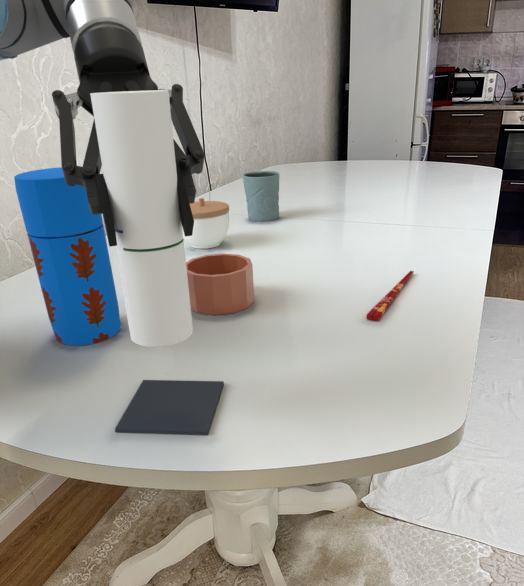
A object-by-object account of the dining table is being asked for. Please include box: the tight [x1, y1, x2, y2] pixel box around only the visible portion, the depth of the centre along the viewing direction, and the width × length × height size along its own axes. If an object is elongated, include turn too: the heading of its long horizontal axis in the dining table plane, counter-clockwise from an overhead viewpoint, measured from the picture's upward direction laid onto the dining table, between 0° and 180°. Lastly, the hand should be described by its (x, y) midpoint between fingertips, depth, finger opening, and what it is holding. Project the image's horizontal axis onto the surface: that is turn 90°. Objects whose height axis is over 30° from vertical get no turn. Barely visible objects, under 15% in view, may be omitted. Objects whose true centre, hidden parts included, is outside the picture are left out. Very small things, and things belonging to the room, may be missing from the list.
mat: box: [114, 379, 225, 436], centre depth 65 cm, size 11×11×1 cm
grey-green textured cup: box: [242, 170, 280, 223], centre depth 145 cm, size 10×10×12 cm
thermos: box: [13, 166, 122, 347], centre depth 80 cm, size 11×11×25 cm
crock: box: [186, 253, 255, 316], centre depth 93 cm, size 12×12×7 cm
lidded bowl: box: [182, 197, 230, 250], centre depth 125 cm, size 13×13×11 cm
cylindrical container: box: [90, 90, 194, 348], centre depth 55 cm, size 7×7×25 cm
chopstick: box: [366, 270, 415, 322], centre depth 94 cm, size 2×24×1 cm, turn 151°
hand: (151, 233), depth 52 cm, fingers closed on cylindrical container, 7 cm apart
